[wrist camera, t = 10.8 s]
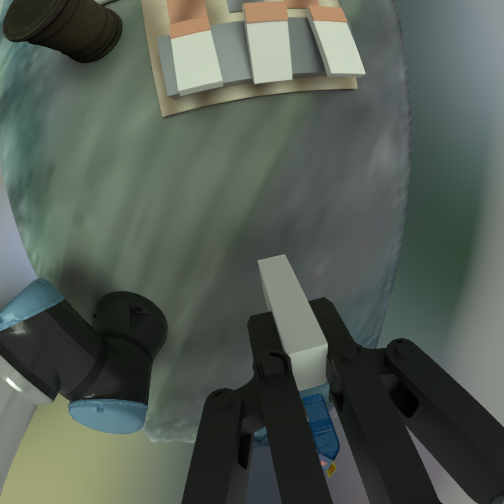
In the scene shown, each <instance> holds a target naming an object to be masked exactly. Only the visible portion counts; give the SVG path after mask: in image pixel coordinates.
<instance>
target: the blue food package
mask: <svg viewBox="0 0 504 504" xmlns="http://www.w3.org/2000/svg"><path fill="white" fill-rule="evenodd" d="M302 404H303V408H304V411H305V414H306V417H307V421H308V424H309V427H310V430H311V434H312V437H313V440H314V443H315V447H316V450H317V453H318V456H319V460H320V463H321V466H322V469H324V470H326V471H327V474H328V477H330V476H331V475H332V474H333V473H334V471H335V470H336V467H335V463H334V459H335V458H336V456H337V454H338V452H339V448H340V445H339V440H338V437H337V435H336V432H335V429H334V426H333V423H332V420H331V418H330V415H329V412H328V409H327V407H326V404H325V401H324V398H323V396H322V394H317V395H313V396H309V397H305V398H302Z"/></svg>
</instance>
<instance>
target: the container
mask: <svg viewBox="0 0 504 504" xmlns="http://www.w3.org/2000/svg"><path fill="white" fill-rule="evenodd" d="M121 30H122V23H121V19H120V17H119V16H118V14H117V13H115V12H113V11H112V10H111V9H108V8H105V7H104V6H103V5H101V4H98V3H97V2H96V1H94V0H14V1H13V2H12V4H11V5H10V7H9V9H8V11H7V13H6V16H5V19H4V23H3V32H4V35H5V37H6V38H7V39H8V40H9V41H12V42H22V41H28V42H29V43H30V44H33V45H41V46H44V47H48V48H51V49H54V50H57V51H60V52H61V53H63V54H65V55H68V56H69V57H70V58H71V59H74V60H75V61H78V62H81V63H87V62H92V61H95V60H98V59H100V58H101V57H103V56H104V55H106V54H107V53H108V52H109V51H110V50H111V49H112V48H113V47H114V46H115V44H116V43H117V41H118V39H119V37H120V34H121Z"/></svg>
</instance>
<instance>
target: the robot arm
mask: <svg viewBox="0 0 504 504" xmlns="http://www.w3.org/2000/svg"><path fill="white" fill-rule="evenodd" d="M258 265H259V270H260V275H261V280H262V286H263V291H264V296H265V300H266V304H267V307H268V311H269V312H266V313H262V314H257V315H253V316H250V318H249V321H248V324H247V326H248V332H249V337H250V342H251V348H252V353H253V359H254V361H253V371H254V376H253V378H252V379H251V380H250V381H249V382H248V383H247V384H246V385H244V386H242V387H240V388H238V389H236V390H232V389H227V388H224V389H218V390H216V391H214V392H212V393H211V394H210V395H209V396H208V397H207V399H206V401H205V404H204V408H203V412H202V417H201V421H200V425H199V429H198V434H197V438H196V442H195V446H194V451H193V456H192V459H191V463H190V468H189V472H188V477H187V481H186V485H185V490H184V495H183V499H182V503H181V504H245V502H246V494H247V487H248V480H249V471H250V464H251V456H252V447H253V439H254V432H255V431H257V430H259V429H261V428H263V427H265V426H266V431H267V435H268V440H269V445H270V450H271V455H272V459H273V464H274V468H275V473H276V478H277V483H278V487H279V492H280V496H281V501H282V504H333V502H332V499H331V496H330V493H329V489H328V486H327V483H326V480H325V476H324V473H323V469H322V466H321V463H320V460H319V456H318V453H317V450H316V447H315V443H314V440H313V437H312V434H311V430H310V427H309V424H308V421H307V417H306V414H305V411H304V408H303V404H302V401H301V398H300V395H299V391H301V390H305V389H309V388H312V387H316V386H319V385H322V384H326V378H327V380H328V383H329V385H330V390H329V402H332V400H333V403H334V406H335V408H336V411H337V414H338V416H339V419H340V422H341V424H342V427H343V429H344V432H345V435H346V438H347V440H348V443H349V446H350V448H351V451H352V454H353V456H354V459H355V462H356V465H357V467H358V471H359V473H360V476H361V479H362V482H363V485H364V487H365V490H366V493H367V496H368V499H369V502H370V504H442V503H441V502H440V501H439V499H438V497H437V494H436V492H435V490H434V487H433V485H432V483H431V480H430V478H429V476H428V473H427V471H426V469H425V467H424V465H423V462H422V460H421V458H420V456H419V454H418V451H417V449H416V447H415V445H414V443H413V441H412V439H411V437H410V435H409V433H408V431H407V429H406V426H407V427H408V429H409V430H410V431H411V432H412V433H413V434H414V435H415V436H416V438H417V439H418V440H419V441H420V442H421V443H422V444H423V445H424V446H425V448H426V449H427V450H428V451H429V452H430V453H431V454H432V455H433V457H434V458H435V459H436V460H437V461H438V462H439V463H440V464H441V466H442V467H443V468H444V469H445V470H446V471H447V472H448V473H449V474H450V476H451V477H452V478H453V479H454V480H455V481H456V482H457V484H458V485H459V486H460V487H461V488H462V489H463V490H464V491H465V492H466V493H467V495H468V496H469V497H470V498H472V499H473V500H474V501H475V502H477V503H478V504H504V427H503V426H502V425H501V424H500V423H499V422H498V421H497V420H496V419H495V418H494V417H493V416H492V415H491V414H490V413H489V412H488V411H487V410H486V409H485V408H484V407H483V406H482V405H480V403H479V402H478V401H477V400H475V399H474V398H473V397H472V396H471V395H470V394H469V393H468V392H467V391H466V390H465V389H464V388H463V387H462V386H460V384H458V383H457V382H456V381H455V380H454V379H453V378H452V377H451V376H450V375H449V374H448V373H446V372H445V371H444V370H443V369H442V368H441V367H440V366H439V365H438V364H437V363H436V362H434V361H433V360H432V359H431V358H430V357H429V356H428V355H427V354H426V353H424V352H423V351H422V350H421V349H420V348H419V347H418V346H417V345H415V344H414V343H413V342H411V341H410V340H408V339H404V338H400V339H395V340H393V341H391V342H390V343H389V344H388V345H387V348H380V349H367V348H363V347H362V346H361V345H359V344H357V343H355V341H354V340H353V338H352V337H351V335H350V333H349V331H348V329H347V328H346V326H345V324H344V322H343V321H342V319H341V318H340V315H339V314H338V312H337V310H336V308H335V307H334V305H333V303H332V302H330V301H329V300H328V299H326V298H325V297H323V298H319V299H315V300H312V301H307V299H306V296H305V294H304V292H303V290H302V288H301V286H300V284H299V282H298V280H297V278H296V276H295V274H294V272H293V270H292V268H291V266H290V264H289V262H288V260H287V258H286V256H285V254H284V255H279V256H275V257H270V258H266V259H262V260H258ZM166 333H167V323H166V320H165V317H164V315H163V314H162V312H161V311H160V310H159V308H158V307H157V306H155V305H154V304H153V303H152V302H150V301H149V300H147V299H146V298H144V297H142V296H139V295H137V294H133V293H129V292H113V293H110V294H107V295H105V296H104V297H102V298H101V299H100V300H99V302H98V303H97V305H96V307H95V309H94V312H93V316H92V327H91V326H90V325H89V324H88V323H87V322H86V321H85V320H84V319H83V318H82V317H81V316H80V315H79V313H78V312H77V311H76V310H75V309H74V308H73V307H72V306H71V305H70V304H69V303H68V301H67V300H66V299H65V296H64V295H61V294H60V293H59V292H58V291H57V290H56V289H55V288H54V287H53V285H52V284H51V283H50V282H49V281H47V280H46V279H42V278H39V279H37V280H34V281H33V282H32V283H30V284H29V285H28V286H27V287H26V288H24V289H23V290H22V291H21V292H20V293H19V294H18V295H17V296H15V297H14V298H13V299H12V300H11V301H10V302H9V303H8V304H7V305H6V306H5V307H4V308H3V309H2V310H1V311H0V495H1V492H2V489H3V486H4V483H5V480H6V477H7V474H8V472H9V469H10V467H11V464H12V461H13V459H14V456H15V454H16V452H17V449H18V447H19V445H20V442H21V440H22V438H23V436H24V434H25V432H26V429H27V427H28V425H29V423H30V421H31V419H32V417H33V415H34V413H35V411H36V409H37V407H38V406H39V405H41V404H47V403H53V402H54V400H55V398H56V396H57V394H58V393H60V394H61V395H62V396H64V397H65V398H66V399H68V400H69V401H70V403H69V405H68V408H69V413H70V415H71V416H72V418H73V419H75V420H76V421H77V422H79V423H80V424H82V425H84V426H87V427H89V428H92V429H95V430H98V431H102V432H106V433H113V434H129V433H134V432H137V431H139V430H140V429H141V428H142V427H143V425H144V422H145V417H146V411H147V410H148V398H149V388H150V379H151V371H152V364H153V360H154V358H155V357H156V355H157V353H158V351H159V350H160V349H161V347H162V346H163V344H164V342H165V339H166ZM405 425H406V426H405Z"/></svg>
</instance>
